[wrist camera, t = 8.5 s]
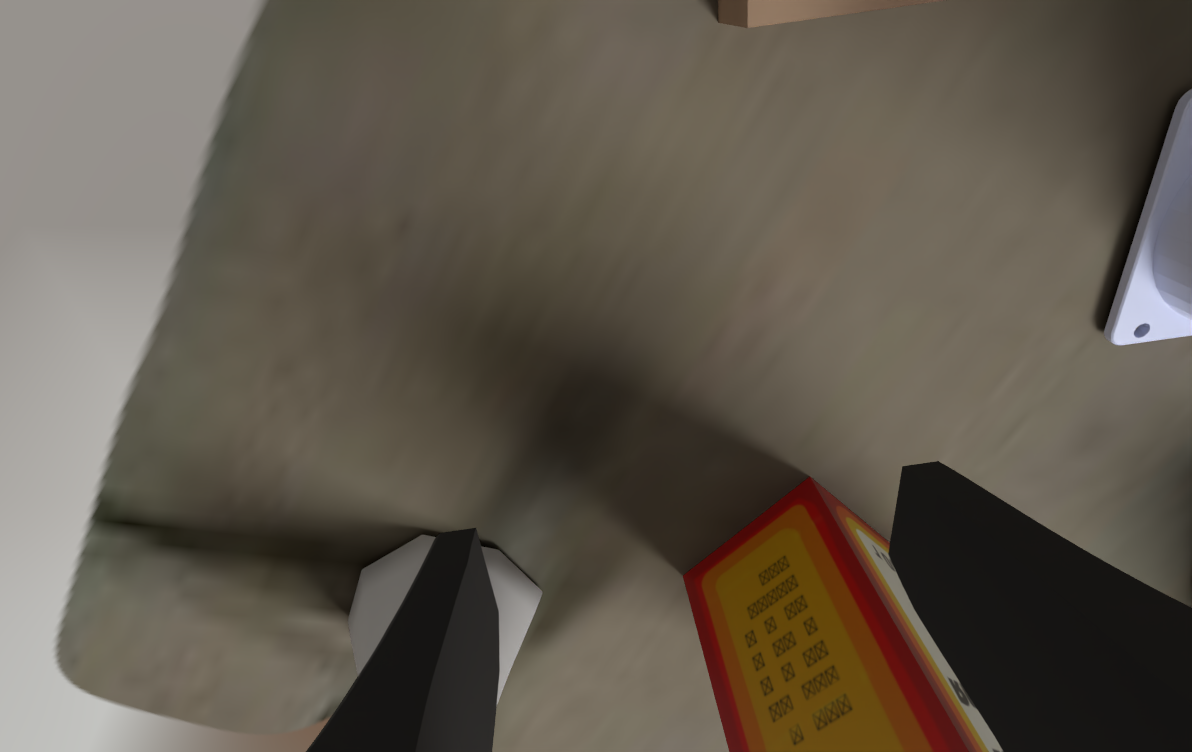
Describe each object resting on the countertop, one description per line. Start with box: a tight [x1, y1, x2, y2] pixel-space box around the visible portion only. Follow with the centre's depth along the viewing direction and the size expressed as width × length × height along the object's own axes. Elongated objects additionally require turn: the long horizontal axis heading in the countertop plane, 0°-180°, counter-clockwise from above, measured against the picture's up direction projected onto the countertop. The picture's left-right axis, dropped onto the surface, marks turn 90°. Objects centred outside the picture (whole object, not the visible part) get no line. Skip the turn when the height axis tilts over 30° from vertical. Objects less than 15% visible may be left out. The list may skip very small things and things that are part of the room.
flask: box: [348, 535, 543, 706], centre depth 22 cm, size 7×7×10 cm
